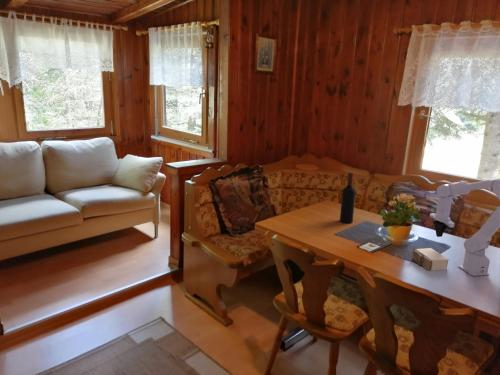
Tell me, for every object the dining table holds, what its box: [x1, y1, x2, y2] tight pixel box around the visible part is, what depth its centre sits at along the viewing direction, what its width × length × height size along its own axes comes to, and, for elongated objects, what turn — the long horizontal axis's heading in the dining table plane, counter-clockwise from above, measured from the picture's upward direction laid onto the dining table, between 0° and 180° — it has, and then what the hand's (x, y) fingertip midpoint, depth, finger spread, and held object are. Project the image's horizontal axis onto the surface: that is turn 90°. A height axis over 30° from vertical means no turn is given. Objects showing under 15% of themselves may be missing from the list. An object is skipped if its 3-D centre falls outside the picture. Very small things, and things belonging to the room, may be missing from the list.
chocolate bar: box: [356, 237, 393, 254], centre depth 189 cm, size 9×1×18 cm
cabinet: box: [415, 247, 449, 271], centre depth 169 cm, size 12×10×5 cm
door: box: [411, 248, 423, 266], centre depth 170 cm, size 8×1×5 cm, turn 2°
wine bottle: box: [339, 172, 356, 225], centre depth 219 cm, size 8×8×30 cm
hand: (439, 236), depth 176 cm, fingers closed
